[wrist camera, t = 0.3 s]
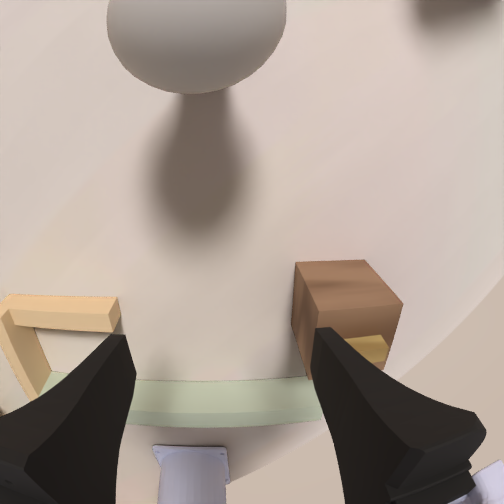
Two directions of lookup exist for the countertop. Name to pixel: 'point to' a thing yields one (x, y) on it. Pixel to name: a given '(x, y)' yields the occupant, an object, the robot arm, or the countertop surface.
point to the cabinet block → (344, 308)
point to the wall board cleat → (147, 392)
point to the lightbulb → (194, 40)
